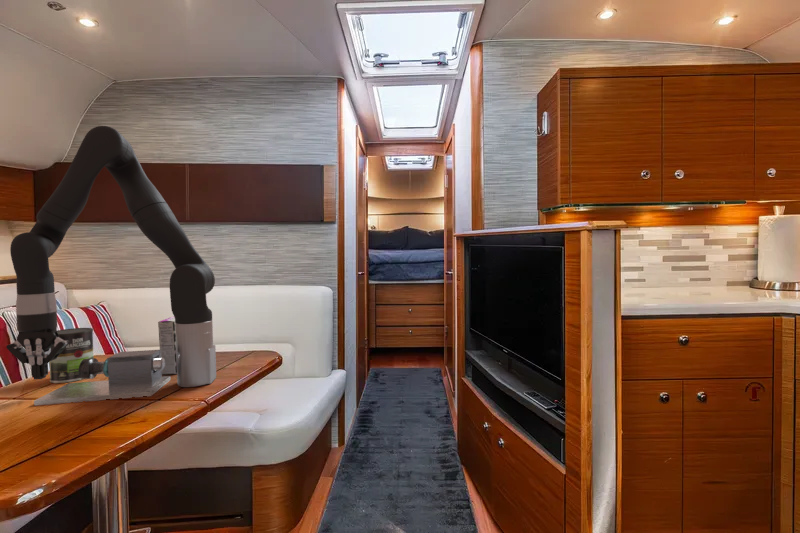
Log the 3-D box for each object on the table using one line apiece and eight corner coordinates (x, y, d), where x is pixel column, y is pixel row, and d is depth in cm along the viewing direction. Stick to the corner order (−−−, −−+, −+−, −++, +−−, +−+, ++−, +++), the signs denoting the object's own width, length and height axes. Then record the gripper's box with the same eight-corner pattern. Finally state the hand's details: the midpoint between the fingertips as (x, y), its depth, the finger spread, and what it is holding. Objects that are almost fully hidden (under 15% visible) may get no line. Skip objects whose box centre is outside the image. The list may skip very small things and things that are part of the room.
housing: (170, 379, 111) (169, 346, 111) (150, 396, 98) (149, 358, 98) (68, 387, 106) (67, 352, 106) (34, 405, 93) (32, 365, 93)
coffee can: (101, 375, 117) (99, 329, 116) (57, 385, 108) (54, 335, 107) (86, 370, 122) (84, 326, 122) (44, 379, 113) (41, 332, 113)
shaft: (166, 370, 107) (166, 351, 107) (158, 376, 102) (158, 356, 102) (90, 375, 104) (90, 356, 103) (78, 381, 98) (78, 361, 98)
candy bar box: (177, 364, 127) (175, 315, 126) (193, 364, 127) (191, 314, 127) (159, 375, 116) (157, 321, 115) (176, 374, 116) (174, 320, 116)
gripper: (75, 308, 103) (78, 372, 104) (17, 310, 101) (20, 376, 101) (57, 312, 96) (60, 381, 97) (-6, 314, 93) (-3, 385, 94)
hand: (40, 378), depth 99 cm, fingers closed
